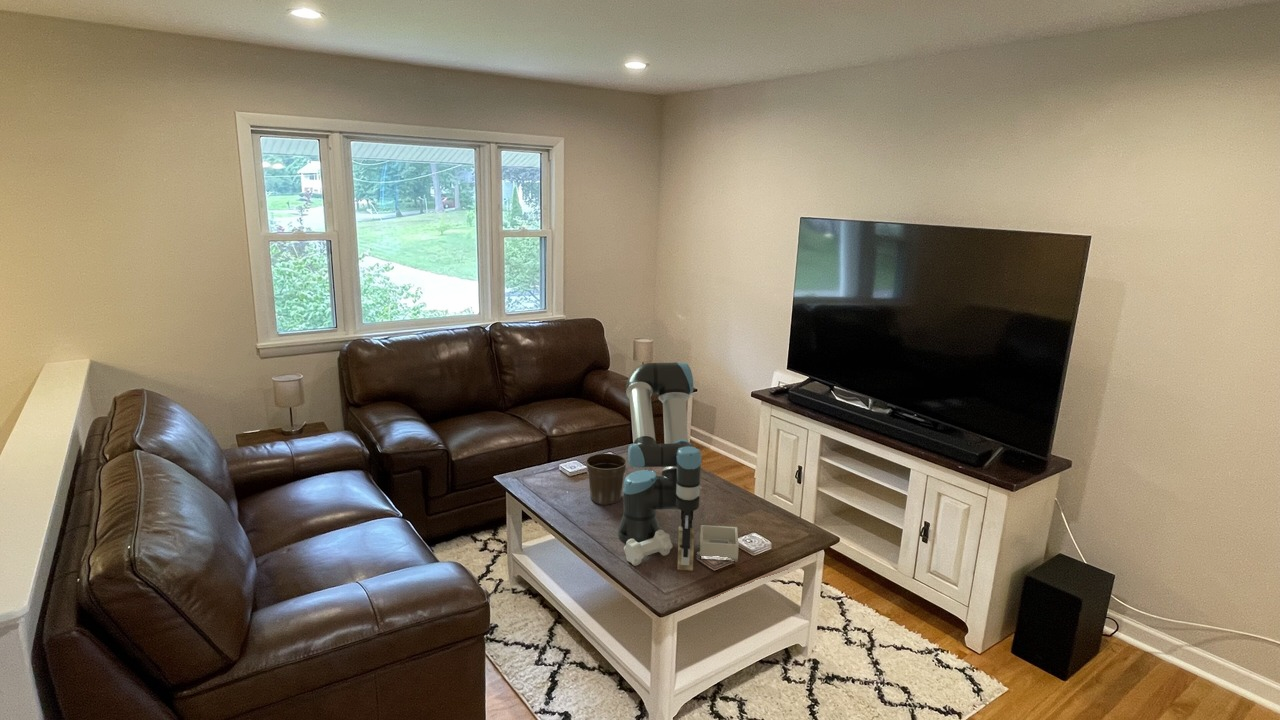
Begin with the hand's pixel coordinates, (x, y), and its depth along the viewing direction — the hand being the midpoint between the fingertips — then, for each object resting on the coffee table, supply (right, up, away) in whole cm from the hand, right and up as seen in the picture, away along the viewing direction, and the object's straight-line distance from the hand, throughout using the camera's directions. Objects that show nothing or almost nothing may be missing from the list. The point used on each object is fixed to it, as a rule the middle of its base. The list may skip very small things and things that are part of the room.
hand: (685, 561), depth 219 cm
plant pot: (-28, +10, +49) cm, 57 cm away
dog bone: (-12, -1, +6) cm, 14 cm away
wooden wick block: (0, -2, +1) cm, 2 cm away
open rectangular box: (+12, 0, +11) cm, 16 cm away
